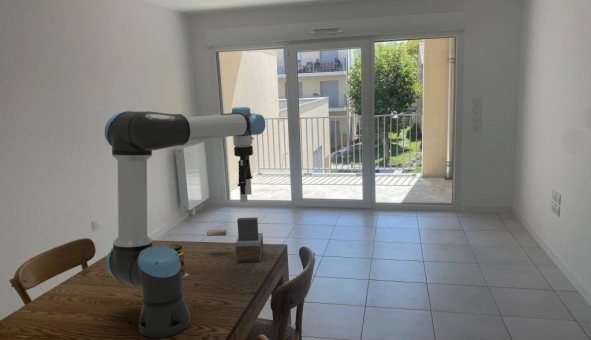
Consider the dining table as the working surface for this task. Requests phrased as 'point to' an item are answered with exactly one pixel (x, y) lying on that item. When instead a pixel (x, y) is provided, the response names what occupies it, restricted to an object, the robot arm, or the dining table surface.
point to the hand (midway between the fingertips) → (246, 198)
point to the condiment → (180, 258)
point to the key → (216, 233)
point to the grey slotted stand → (248, 232)
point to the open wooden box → (249, 253)
